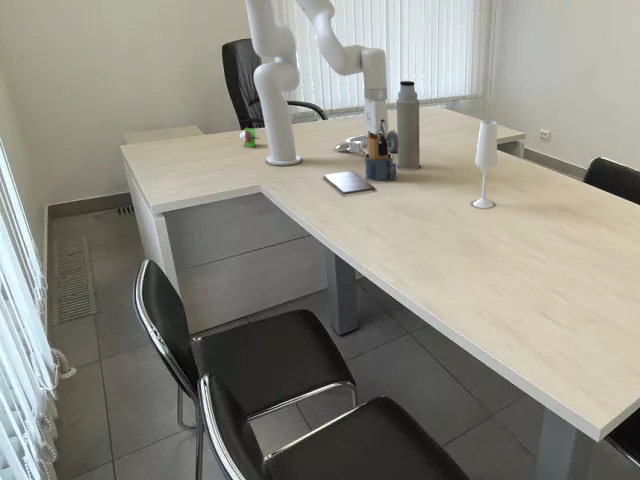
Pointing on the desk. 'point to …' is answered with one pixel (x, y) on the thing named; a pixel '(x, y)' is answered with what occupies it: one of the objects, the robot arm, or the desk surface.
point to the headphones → (359, 141)
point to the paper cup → (375, 148)
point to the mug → (380, 169)
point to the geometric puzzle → (248, 137)
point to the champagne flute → (486, 156)
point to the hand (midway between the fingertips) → (378, 152)
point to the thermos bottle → (408, 126)
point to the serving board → (348, 182)
